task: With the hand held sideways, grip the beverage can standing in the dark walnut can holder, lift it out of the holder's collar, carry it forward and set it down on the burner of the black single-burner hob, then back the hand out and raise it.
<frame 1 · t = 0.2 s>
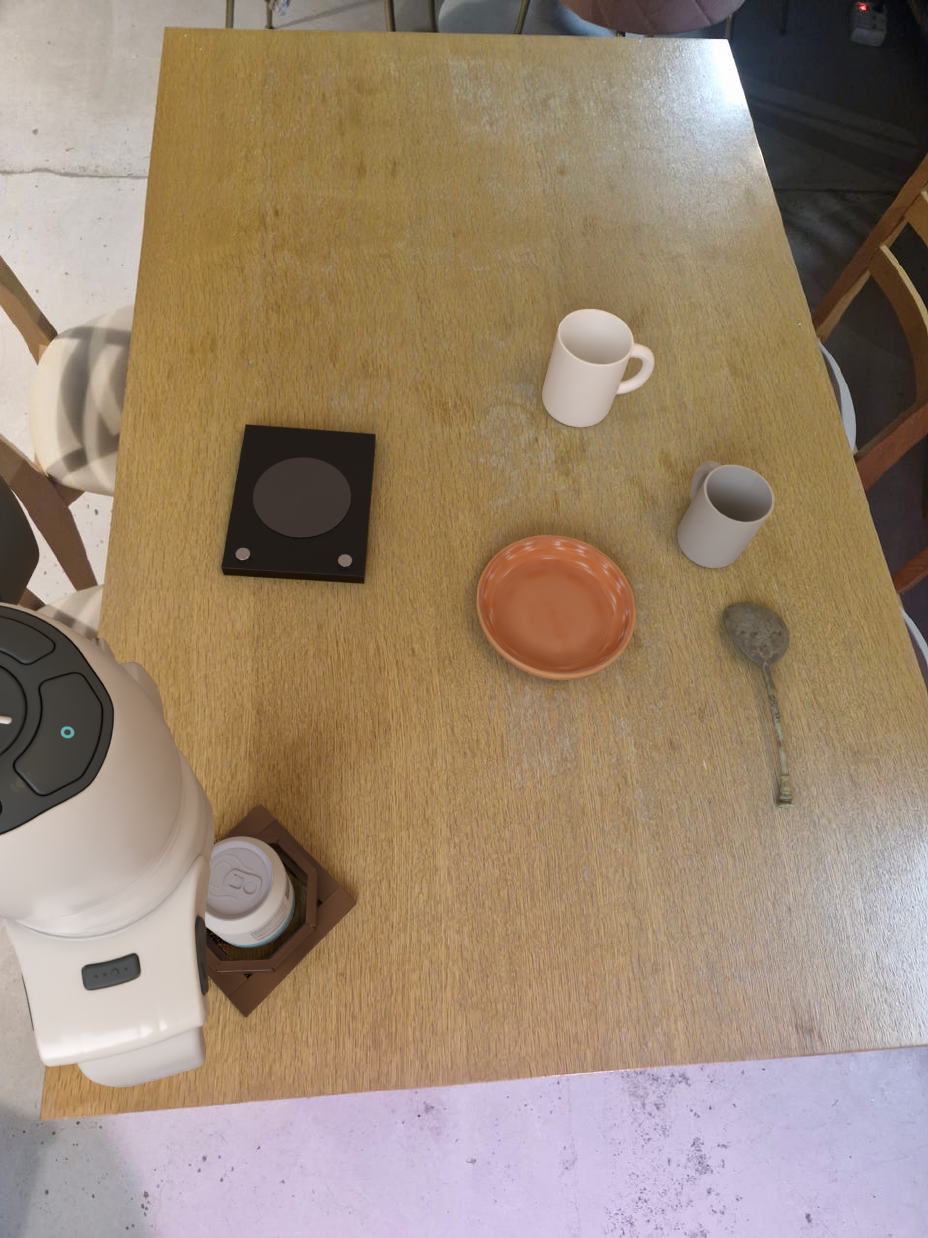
hand: (165, 883, 49), 23 cm above the table, tool pointing down, fingers open, 8 cm apart
hob: (303, 505, 89), on the table
saucer: (551, 616, 86), on the table
can holder: (254, 905, 71), on the table
mug: (590, 403, 100), on the table
soupspoon: (762, 701, 84), on the table
beverage can: (254, 906, 71), resting in can holder
cup: (702, 532, 93), on the table
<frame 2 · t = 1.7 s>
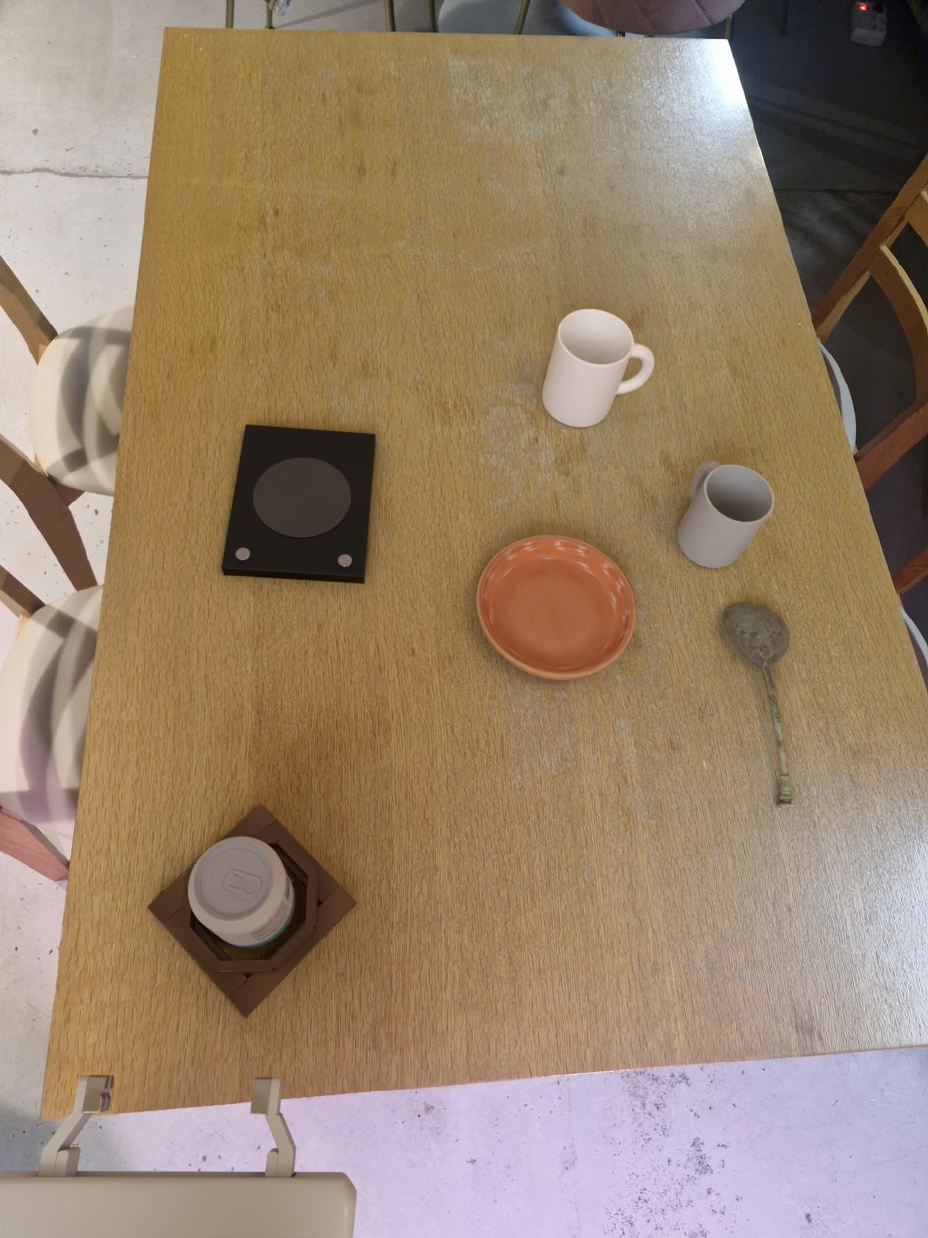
hand: (183, 1076, 48), 20 cm above the table, tool horizontal, fingers open, 8 cm apart
nothing on the table moved.
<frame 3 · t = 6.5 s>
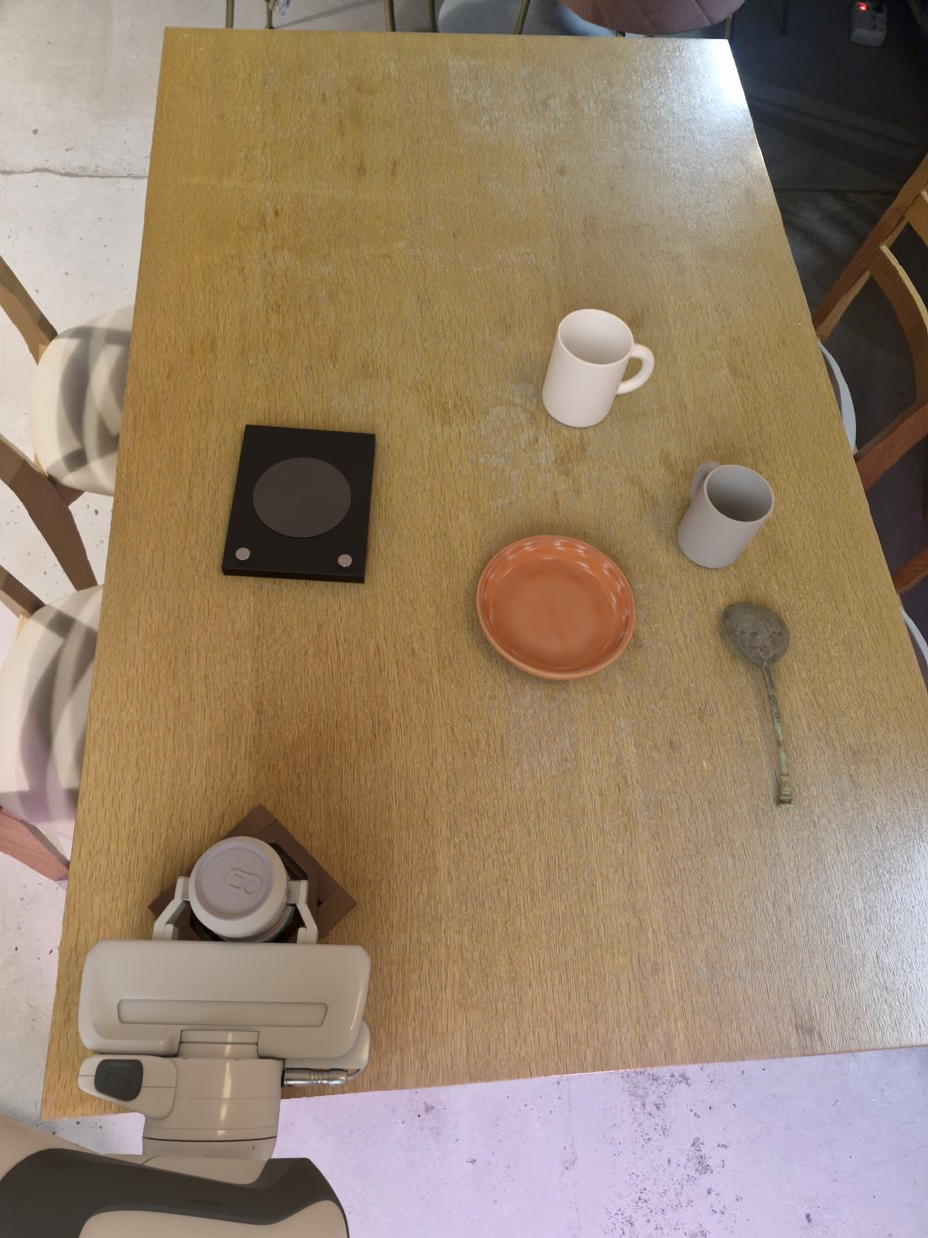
hand: (243, 879, 65), 7 cm above the table, tool horizontal, fingers closed on beverage can, 7 cm apart
beverage can: (254, 906, 71), resting in can holder, touching gripper
everything else where it was.
when the fingers open (9 cm above the table, at t = 17.5 s): beverage can stays where it is, resting on hob.
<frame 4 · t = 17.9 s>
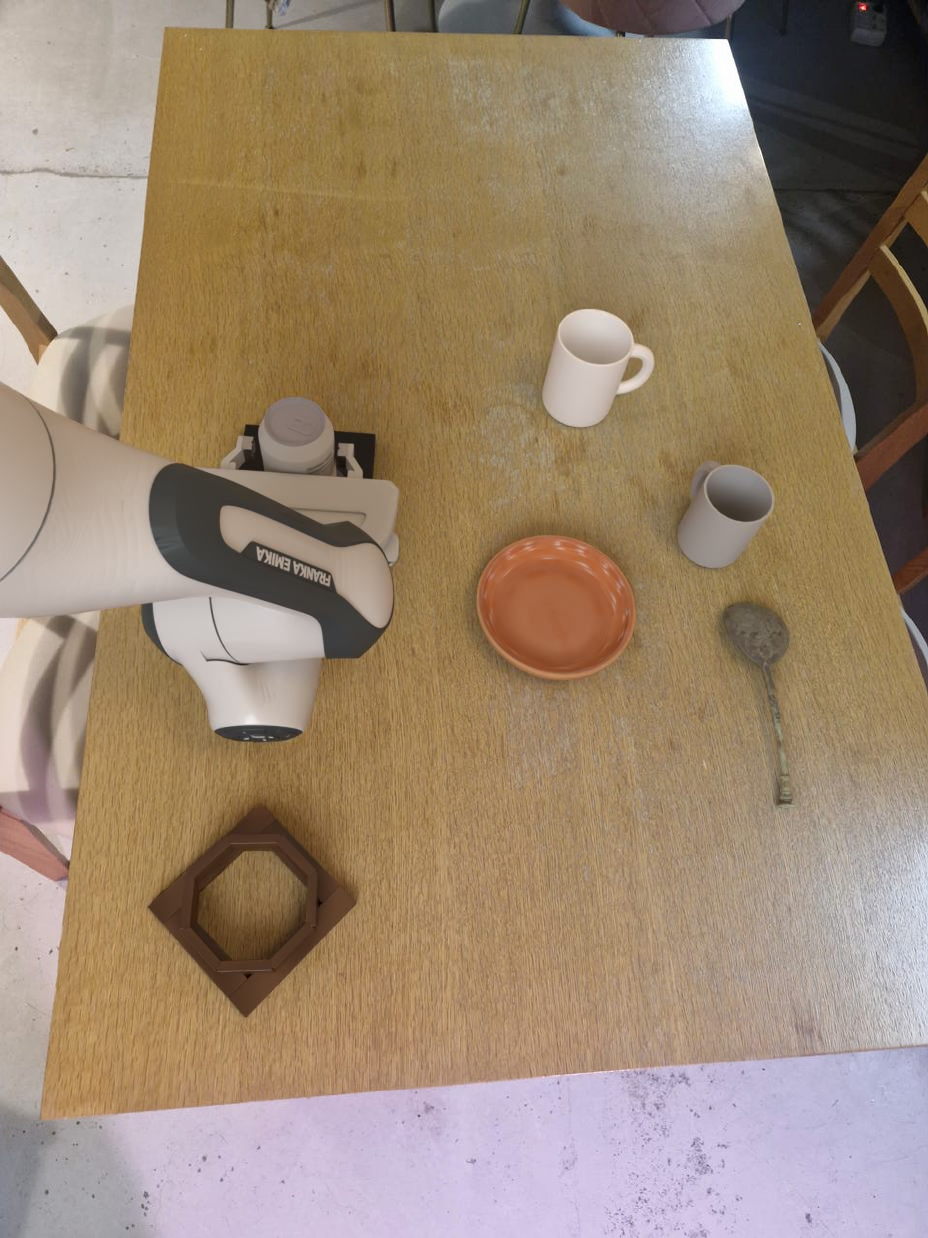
hand: (297, 443, 82), 9 cm above the table, tool horizontal, fingers open, 8 cm apart
beverage can: (304, 498, 88), point 1 cm above the table, touching hob
everything else where it was.
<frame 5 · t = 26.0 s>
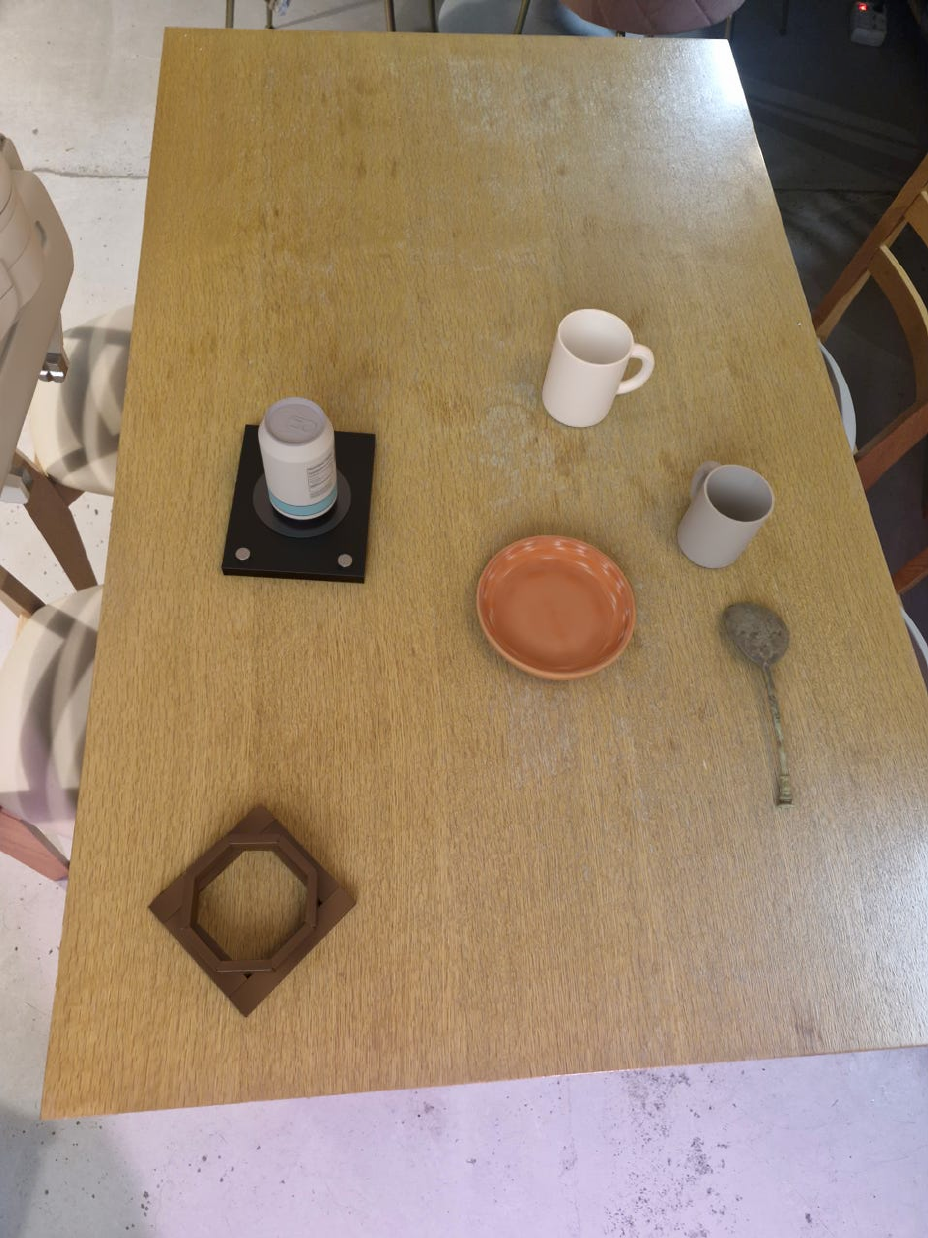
hand: (37, 431, 53), 31 cm above the table, tool pointing down, fingers open, 8 cm apart
nothing on the table moved.
at the end: beverage can inside the target area on the hob (0.2 cm from its centre), point 1.5 cm above the hob's base; beverage can tilted 0°; beverage can touching hob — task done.
